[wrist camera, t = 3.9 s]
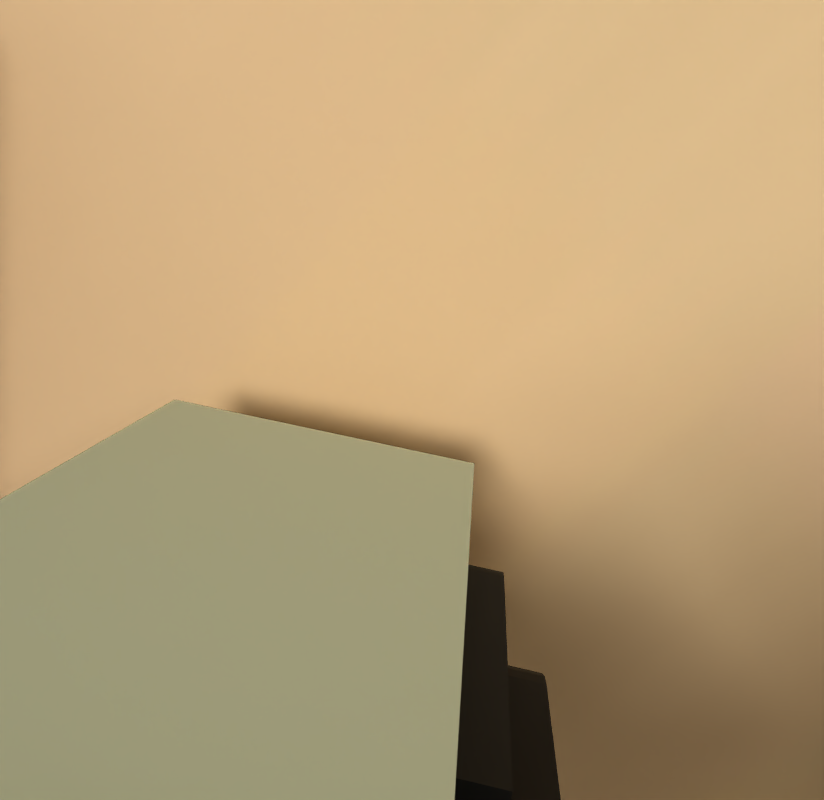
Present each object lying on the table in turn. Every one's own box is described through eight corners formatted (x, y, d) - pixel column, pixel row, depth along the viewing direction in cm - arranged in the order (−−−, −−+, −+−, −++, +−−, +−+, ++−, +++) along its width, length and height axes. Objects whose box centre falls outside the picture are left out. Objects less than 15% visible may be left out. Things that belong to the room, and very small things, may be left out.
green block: (474, 463, 11) (434, 1107, 3) (416, 717, 12) (290, 1605, 4) (174, 399, 11) (-583, 831, 3) (153, 655, 12) (-410, 1381, 5)
